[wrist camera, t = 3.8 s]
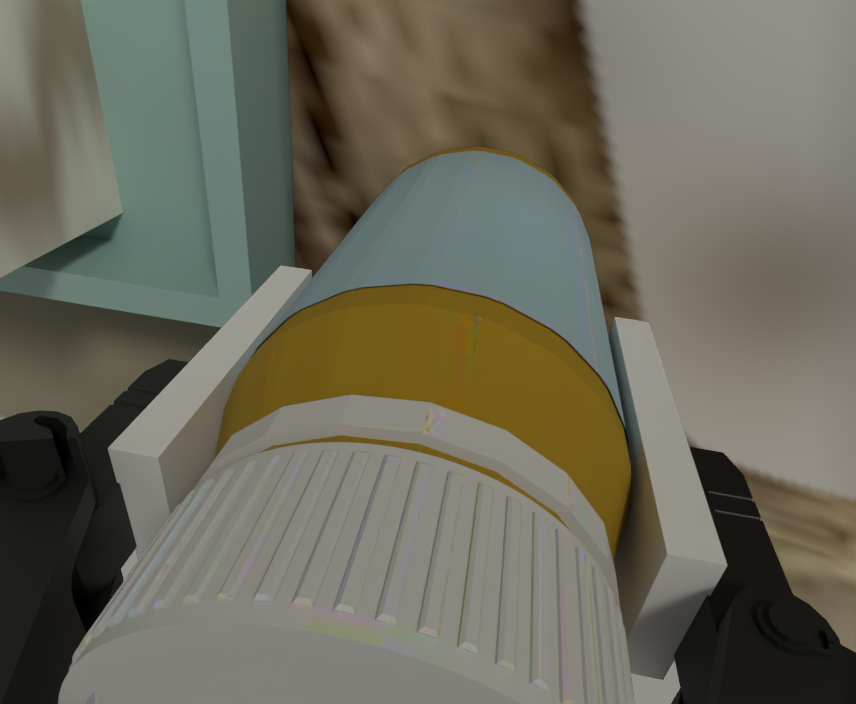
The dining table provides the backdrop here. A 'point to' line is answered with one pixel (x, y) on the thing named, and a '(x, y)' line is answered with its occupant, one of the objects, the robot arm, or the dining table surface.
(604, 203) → the dining table surface
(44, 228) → the beige rectangular box
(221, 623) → the bottle
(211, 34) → the tote
